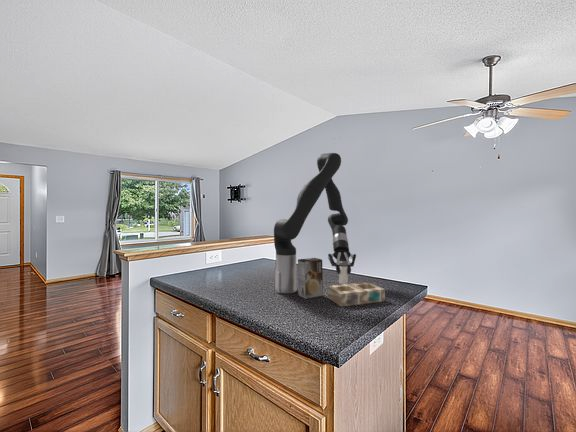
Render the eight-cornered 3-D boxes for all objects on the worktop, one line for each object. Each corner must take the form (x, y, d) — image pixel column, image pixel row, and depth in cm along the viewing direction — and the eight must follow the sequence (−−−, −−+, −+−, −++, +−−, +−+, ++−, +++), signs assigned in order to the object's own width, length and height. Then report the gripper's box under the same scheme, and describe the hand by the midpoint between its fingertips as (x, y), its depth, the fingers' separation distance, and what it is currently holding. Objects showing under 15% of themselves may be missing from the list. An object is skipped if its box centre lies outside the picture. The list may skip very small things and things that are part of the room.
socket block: (341, 306, 112) (341, 294, 111) (327, 297, 123) (327, 285, 123) (385, 301, 118) (385, 289, 117) (368, 293, 129) (368, 282, 129)
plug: (341, 284, 132) (341, 262, 132) (337, 282, 136) (337, 261, 136) (349, 283, 133) (349, 262, 133) (344, 281, 137) (345, 260, 137)
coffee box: (315, 292, 131) (315, 257, 131) (323, 295, 126) (323, 259, 125) (297, 295, 127) (297, 259, 127) (305, 299, 121) (305, 261, 121)
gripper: (326, 238, 142) (329, 268, 130) (355, 239, 141) (360, 268, 129) (325, 248, 147) (327, 277, 135) (353, 248, 147) (358, 277, 135)
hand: (343, 273), depth 132 cm, fingers closed on plug, 4 cm apart
